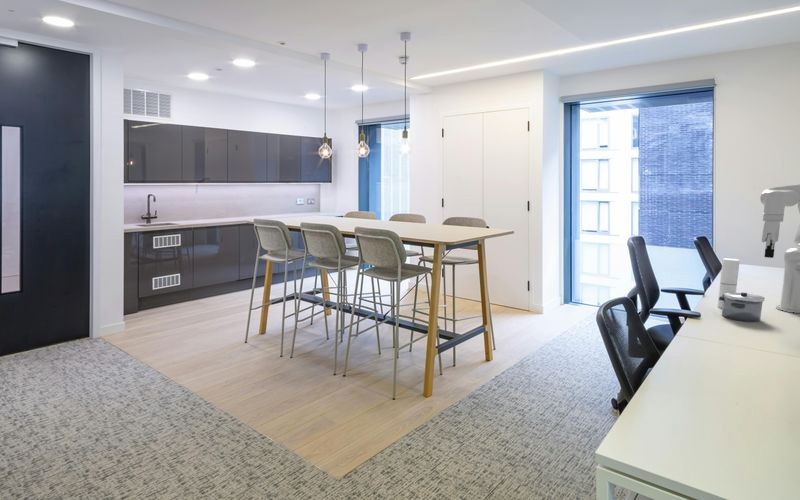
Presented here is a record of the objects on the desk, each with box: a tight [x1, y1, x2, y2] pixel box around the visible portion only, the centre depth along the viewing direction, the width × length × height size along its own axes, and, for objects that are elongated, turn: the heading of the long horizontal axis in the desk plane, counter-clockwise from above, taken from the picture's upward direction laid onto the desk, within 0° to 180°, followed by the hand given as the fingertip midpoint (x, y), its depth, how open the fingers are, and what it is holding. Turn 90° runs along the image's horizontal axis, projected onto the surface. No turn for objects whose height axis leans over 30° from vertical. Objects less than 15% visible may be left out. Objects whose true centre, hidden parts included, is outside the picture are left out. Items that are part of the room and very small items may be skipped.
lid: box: [723, 292, 765, 303], centre depth 230 cm, size 16×16×3 cm
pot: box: [718, 295, 763, 323], centre depth 232 cm, size 20×16×9 cm
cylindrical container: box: [717, 257, 741, 309], centre depth 250 cm, size 7×7×25 cm
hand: (768, 257), depth 228 cm, fingers closed
